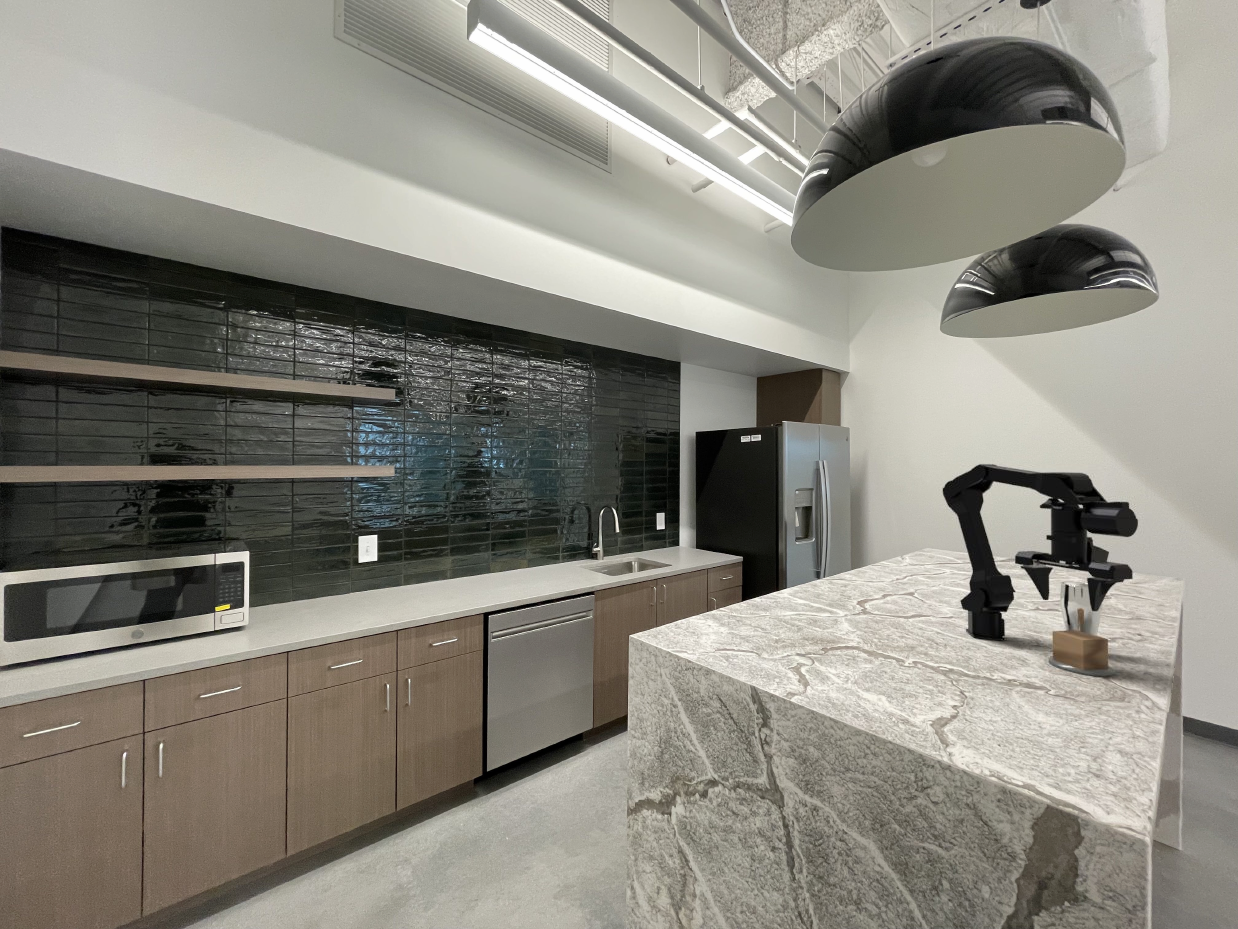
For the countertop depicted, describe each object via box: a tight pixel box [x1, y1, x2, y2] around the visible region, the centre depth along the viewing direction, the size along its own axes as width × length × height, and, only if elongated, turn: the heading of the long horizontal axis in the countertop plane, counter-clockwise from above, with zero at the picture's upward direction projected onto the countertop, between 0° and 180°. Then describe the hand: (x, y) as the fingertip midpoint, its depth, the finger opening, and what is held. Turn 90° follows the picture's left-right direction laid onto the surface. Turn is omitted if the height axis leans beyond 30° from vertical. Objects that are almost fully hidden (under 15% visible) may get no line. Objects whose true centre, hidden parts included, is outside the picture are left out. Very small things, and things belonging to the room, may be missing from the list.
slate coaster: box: [1048, 655, 1116, 678], centre depth 103 cm, size 10×10×1 cm
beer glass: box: [1059, 581, 1103, 636], centre depth 113 cm, size 7×7×15 cm
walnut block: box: [1051, 630, 1109, 670], centre depth 103 cm, size 6×6×6 cm
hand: (1069, 605), depth 105 cm, fingers open, 9 cm apart
